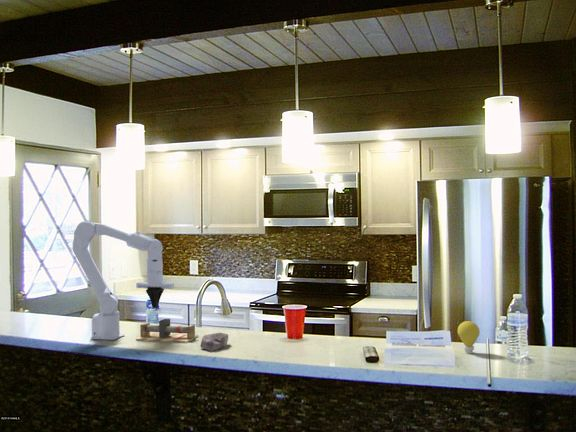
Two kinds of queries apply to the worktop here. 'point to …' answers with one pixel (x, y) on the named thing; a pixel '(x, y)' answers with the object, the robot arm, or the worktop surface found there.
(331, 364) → the worktop surface
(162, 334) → the collar
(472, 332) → the light bulb
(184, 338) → the pipe rig
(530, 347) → the worktop surface
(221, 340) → the rock
